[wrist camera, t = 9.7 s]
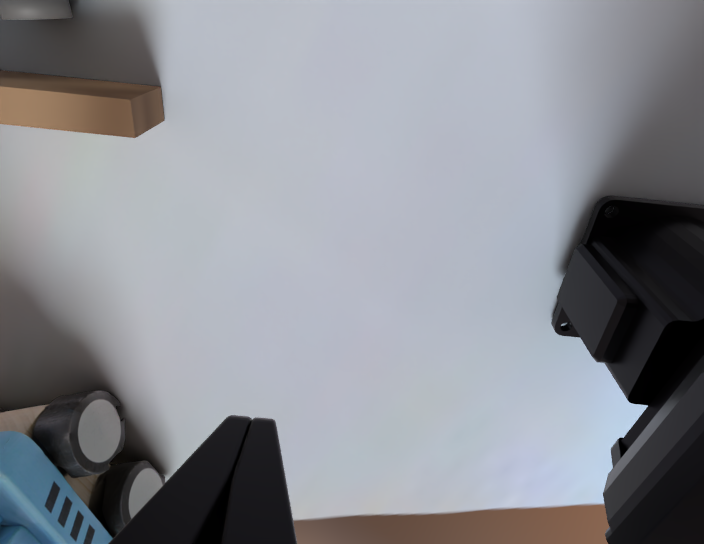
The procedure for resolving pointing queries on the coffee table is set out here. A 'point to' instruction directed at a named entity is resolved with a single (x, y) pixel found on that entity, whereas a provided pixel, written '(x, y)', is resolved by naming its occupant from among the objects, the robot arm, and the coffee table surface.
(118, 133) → the bay
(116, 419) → the toy excavator
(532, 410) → the coffee table surface
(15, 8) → the white block with knob
